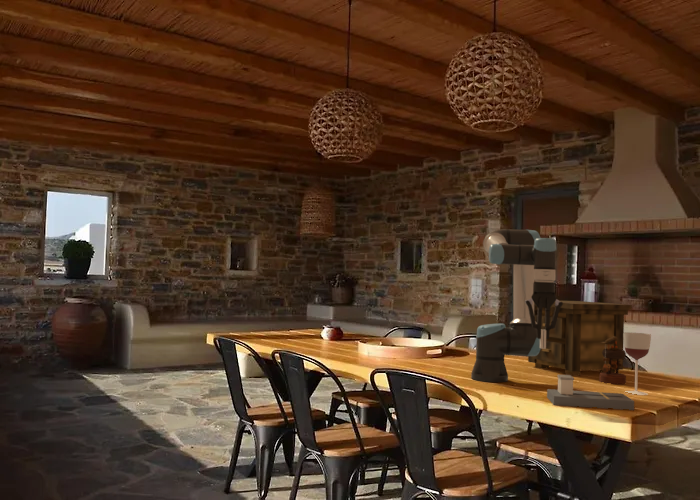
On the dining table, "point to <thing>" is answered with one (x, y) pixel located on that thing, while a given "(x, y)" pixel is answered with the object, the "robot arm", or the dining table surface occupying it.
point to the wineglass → (636, 351)
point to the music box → (612, 363)
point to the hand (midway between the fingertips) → (542, 348)
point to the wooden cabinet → (581, 336)
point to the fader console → (591, 399)
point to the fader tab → (565, 384)
